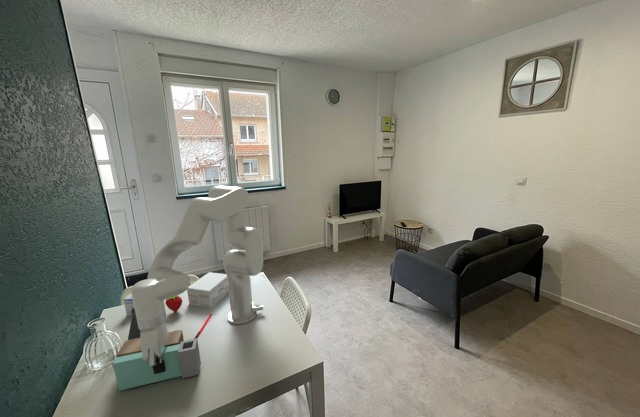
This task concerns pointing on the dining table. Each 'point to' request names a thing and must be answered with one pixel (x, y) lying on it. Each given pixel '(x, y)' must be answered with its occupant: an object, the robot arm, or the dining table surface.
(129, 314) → the medicine box
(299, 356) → the dining table surface
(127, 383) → the teal desk organizer
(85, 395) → the dining table surface
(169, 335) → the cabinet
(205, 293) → the supplement box
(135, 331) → the phone stand
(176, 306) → the strawberry
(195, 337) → the pen
